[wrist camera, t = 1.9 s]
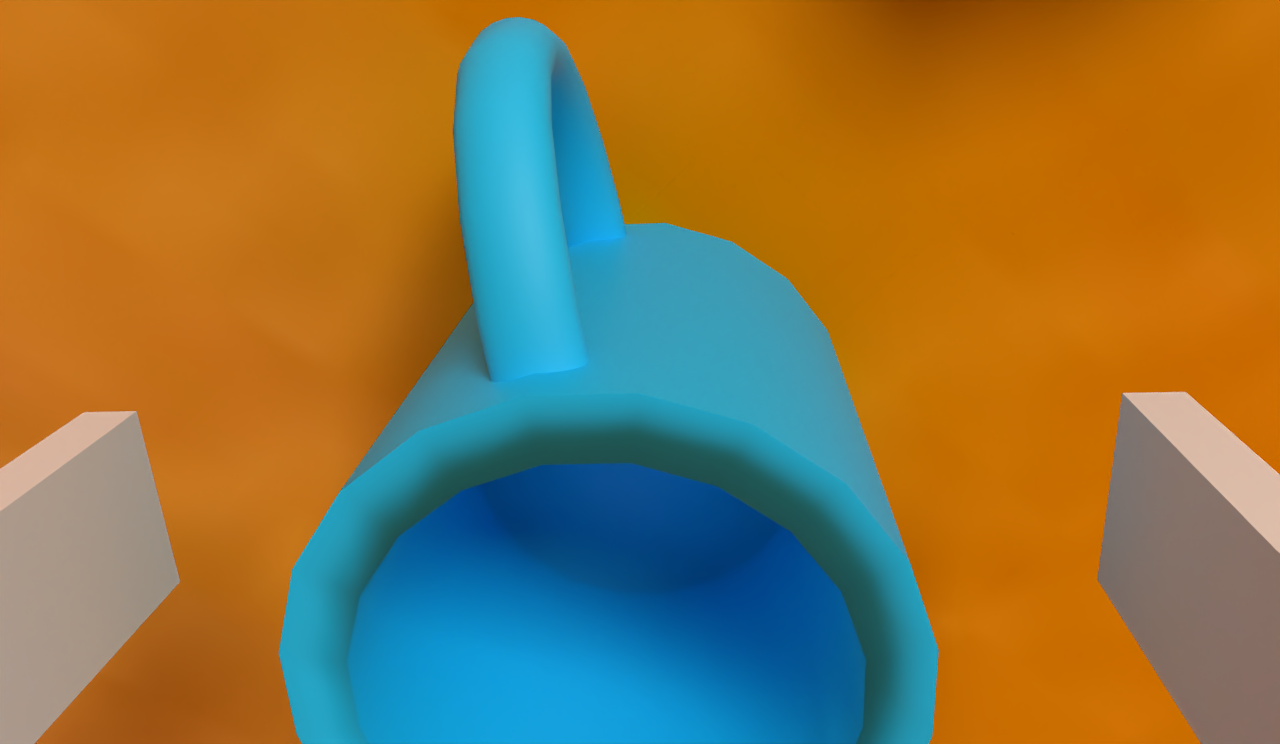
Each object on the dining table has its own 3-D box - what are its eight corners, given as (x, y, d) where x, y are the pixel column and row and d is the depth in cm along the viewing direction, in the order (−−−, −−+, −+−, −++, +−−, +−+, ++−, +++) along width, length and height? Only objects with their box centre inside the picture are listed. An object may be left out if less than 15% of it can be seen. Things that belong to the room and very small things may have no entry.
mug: (871, 565, 21) (969, 901, 13) (497, 618, 22) (388, 958, 14) (783, -43, 17) (852, -62, 9) (326, 59, 18) (43, 120, 10)
